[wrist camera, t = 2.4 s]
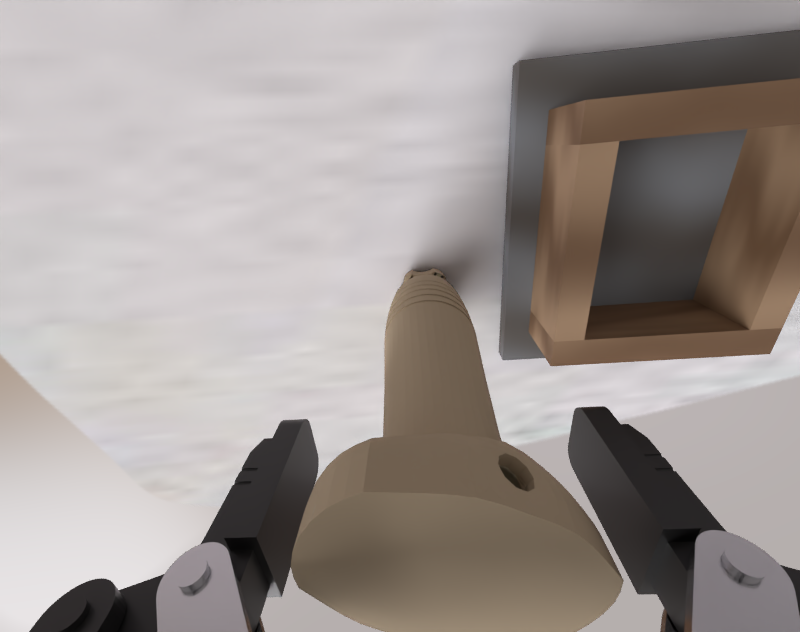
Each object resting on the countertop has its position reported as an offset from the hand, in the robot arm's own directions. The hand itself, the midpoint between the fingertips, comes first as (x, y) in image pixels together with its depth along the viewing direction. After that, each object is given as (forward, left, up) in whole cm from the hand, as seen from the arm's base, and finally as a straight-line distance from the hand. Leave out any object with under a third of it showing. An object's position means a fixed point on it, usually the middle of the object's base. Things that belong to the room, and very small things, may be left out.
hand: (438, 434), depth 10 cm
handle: (0, 0, -11) cm, 11 cm away
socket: (-3, +11, -11) cm, 16 cm away
